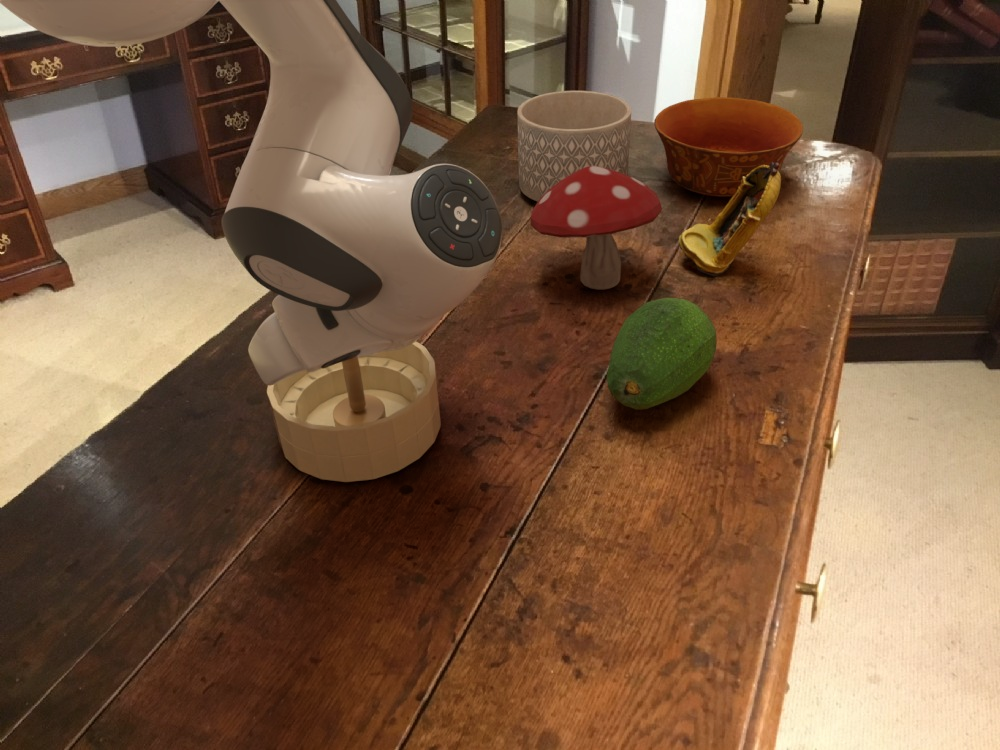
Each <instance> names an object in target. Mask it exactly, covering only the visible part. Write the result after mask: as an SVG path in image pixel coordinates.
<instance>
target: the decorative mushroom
mask: <svg viewBox="0 0 1000 750" xmlns="http://www.w3.org/2000/svg"><path fill="white" fill-rule="evenodd" d="M662 211H663V206H662V203H661V201H660V199H659V197H658V195H657V193H656V192H655V191H654V190H652V189H651V187H649V186H648V185H646V184H645V183H643V182H642V181H640V180H638V179H636V178H634V177H632V176H630V175H625V174H622V173H619V172H616V171H613V170H610V169H607V168H602V167H597V166H588V167H585V168H583V169H580V170H578V171H576V172H574V173H573V174H571V175H569V176H567V177H566V178H564V179H563V180H561V181H560V182H558V183H557V184H556V185H555V186H553V187H552V188H551V189H549V190H548V191H547V192H546V193H545V194H544V195H543V196H542V197H541V198H540V200H539V201H538V202H536V204H535V206H534V207H533V209H532V210H531V215H530V226H531V227H532V229H534V230H535V231H537V232H538V233H539V234H541V235H545V236H550V237H556V238H586V239H585V246H584V250H583V254H582V258H581V265H580V266H581V268H580V276H579V278H580V282H581V284H583V286H585V287H587V288H589V289H592V290H597V291H599V290H603V291H605V290H609V289H612V288H614V287H616V286H617V285H618V284H619V283H620V281H621V268H622V261H621V255H620V253H619V249H618V243H617V242H616V240H615V238H614V235H613V234H616V233H622V232H625V231H629V230H634V229H637V228H639V227H642V226H645V225H649V224H651V223H654V222H655V220H656V219H657V218H658V217H659V215H660V214H661V213H662Z"/></svg>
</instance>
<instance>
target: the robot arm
mask: <svg viewBox="0 0 1000 750" xmlns="http://www.w3.org/2000/svg"><path fill="white" fill-rule="evenodd" d="M218 2H219V3H220V4H221V5H222V6H223V7H224V8H225V10H226V11H227V12H228V13H229V15H231V16H232V18H233V19H234V20H235V21H236V22H237V23H238V24H239V26H240V27H241V28H242V29H243V30H244V31H245V32H246V33H247V35H248V36H249V37H250V38H251V40H253V42H254V43H255V44H256V45H257V46H258V47H259V49H261V51H262V52H263V53H264V54H265V55H266V57H267V59H268V61H269V67H270V80H269V88H268V95H267V100H266V104H265V108H264V110H263V112H262V115H261V118H260V121H259V123H258V125H257V128H256V130H255V132H254V133H255V134H254V136H253V139H252V141H251V144H250V146H249V149H248V152H247V154H246V156H245V159H244V161H243V163H242V165H241V169H240V171H239V173H238V176H237V178H236V180H235V183H234V185H233V188H232V191H231V193H230V196H229V199H228V203H227V205H226V208H225V211H224V213H223V215H222V217H221V222H220V223H221V227H222V231H223V235H224V237H225V239H226V242H227V244H228V246H229V248H230V249H231V251H232V253H233V254H234V256H235V257H236V259H237V260H238V261H239V262H240V264H241V265H242V267H243V268H244V269H245V270H246V271H247V273H248V274H249V275H250V276H251V277H252V278H253V279H254V280H255V281H256V282H257V283H258V284H260V285H261V286H262V287H264V288H265V289H267V290H269V291H271V292H272V293H274V294H277V295H276V296H275V297H274V298H273V300H272V302H271V306H272V309H273V311H274V312H272V313H271V314H270V315H269V316H267V317H266V318H265V319H264V320H263V322H262V323H260V325H259V327H258V328H257V330H256V331H255V332H254V334H253V336H252V338H251V340H250V342H249V345H248V348H247V351H248V355H249V359H250V360H251V363H252V365H253V367H254V369H255V370H256V372H257V375H258V376H259V378H260V380H261V381H262V382H263V384H264V385H266V386H268V385H274V384H277V383H279V382H281V381H283V380H285V379H287V378H290V377H292V376H294V375H296V374H299V373H301V372H303V371H305V370H306V371H307V372H314V371H317V370H319V369H322V368H323V369H324V368H327V367H329V366H332V365H334V364H337V363H340V362H343V361H346V360H350V359H352V358H354V357H359V356H364V355H371V354H376V353H380V352H383V351H396V350H400V349H403V348H405V347H407V346H409V345H411V344H413V343H414V342H415V341H416V342H418V340H419V339H420V338H422V337H423V336H424V335H425V334H426V333H427V332H428V331H430V330H431V329H432V328H433V327H434V326H435V325H437V324H438V323H439V322H440V321H441V319H443V317H444V316H445V315H446V314H448V313H450V312H451V311H453V310H454V309H456V308H457V307H458V306H459V305H460V304H462V303H463V302H464V301H465V300H466V299H467V298H468V297H469V296H470V295H472V293H473V292H474V291H475V290H476V289H477V288H478V287H479V285H480V284H481V283H482V282H483V281H484V279H485V278H486V277H487V276H488V274H489V272H490V271H491V269H492V268H493V266H494V264H495V263H496V261H497V258H498V256H499V253H500V251H501V250H500V249H501V246H502V238H503V237H502V236H503V227H502V219H501V215H500V211H499V208H498V205H497V202H496V201H495V198H494V196H493V194H492V192H491V191H490V189H489V188H488V187H487V186H486V184H485V183H484V182H483V181H482V180H481V179H480V177H478V176H477V175H476V174H474V173H473V172H471V171H470V170H468V169H467V168H464V167H463V166H459V165H456V164H452V163H436V164H433V165H430V166H426V167H424V168H422V169H419V170H417V171H413V172H410V173H405V174H395V175H390V174H391V171H392V169H393V165H394V162H395V159H396V157H397V155H398V153H399V151H400V149H401V147H402V144H403V142H404V139H405V136H406V134H407V132H408V129H409V128H410V125H411V123H412V120H413V115H414V114H413V112H414V108H413V107H414V106H413V101H412V98H411V94H410V92H409V89H408V88H407V85H406V84H405V82H404V80H403V79H402V76H401V74H399V72H398V70H396V69H395V67H394V66H393V65H392V64H391V62H390V61H389V60H388V59H387V58H386V57H385V56H384V55H383V54H382V53H381V52H380V51H378V50H377V48H375V47H374V46H373V45H372V44H371V43H370V42H369V41H368V40H367V39H365V37H364V36H363V35H362V34H361V32H360V31H359V30H358V29H357V28H356V26H355V25H354V23H353V22H352V21H351V19H350V18H349V17H348V15H347V14H346V13H345V11H344V10H343V8H342V7H341V5H340V4H339V2H338V1H337V0H0V5H2V6H3V7H4V8H5V9H7V10H8V11H9V12H10V13H12V14H13V15H14V16H16V17H18V18H19V19H20V20H22V21H23V22H25V23H26V24H27V25H29V26H31V27H32V28H33V29H35V30H37V31H39V32H41V33H43V34H45V35H47V36H51V37H53V38H56V39H59V40H62V41H66V42H70V43H73V44H77V45H83V46H90V47H99V48H100V47H101V48H103V47H104V48H106V47H107V48H114V47H115V48H119V47H126V46H132V45H139V44H143V43H147V42H152V41H155V40H158V39H162V38H165V37H167V36H169V35H172V34H174V33H177V32H179V31H181V30H183V29H185V28H187V27H189V26H191V25H192V24H194V23H195V22H197V21H198V20H200V19H201V18H202V17H204V16H205V15H206V14H207V13H208V12H210V10H212V9H213V7H214V6H215V5H216V4H217V3H218Z"/></svg>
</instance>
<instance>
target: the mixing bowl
mask: <svg viewBox="0 0 1000 750" xmlns="http://www.w3.org/2000/svg"><path fill="white" fill-rule="evenodd" d="M358 360H359V366H360V372H361V378H362V384H363V390H364V395H372V396H375V397H377V398H379V399H380V400H381V401H382V402H383V404H384V406H385V412H386V417H385V418H382V419H379V420H376V421H372V422H369V423H366V424H360V425H350V426H341V427H335V423H334V418H333V410H334V408H335V406H336V405H337V404H338V403H339V402H340V401H342V400H344V399H345V398H348V393H347V388H346V382H345V377H344V371H343V366H342V362H340V363H337V364H334V365H332V366H329V367H327V368H324V369H323V368H322V369H319V370H317V371H314V372H307V371H306V370H305V371H303V372H301V373H299V374H296V375H294V376H292V377H290V378H287V379H285V380H283V381H281V382H279V383H277V384H274V385H267V388H266V396H267V400H268V404H269V407H270V411H271V415H272V418H273V423H274V427H275V431H276V435H277V439H278V441H279V446H280V448H281V451H282V453H283V456H284V458H285V459H286V460H287V461H288V462H289V463H290V464H292V465H293V466H294V467H295V468H296V469H297V470H298V471H300V472H302V473H304V474H307V475H309V476H311V477H314V478H317V479H320V480H324V481H325V480H326V481H332V482H333V481H334V482H341V483H351V482H360V481H369V480H376V479H378V478H382V477H385V476H388V475H392V474H394V473H397V472H399V471H401V470H403V469H405V468H406V467H408V466H409V465H411V464H413V463H414V462H416V461H418V460H420V458H421V457H422V456H423V455H424V454H425V453H427V451H428V450H429V449H430V448H431V447H432V445H433V444H435V442H436V439H437V437H438V434H439V432H440V429H441V427H442V422H441V411H440V401H439V393H438V381H437V372H436V371H437V370H436V362H435V361H436V360H435V359H434V358H433V355H431V353H430V352H429V351H428V349H427V348H426V346H424V345H422V343H419V342H418V341H415V342H414V343H413V344H411V345H409V346H407V347H405V348H403V349H400V350H396V351H383V352H380V353H376V354H371V355H364V356H359V357H358Z"/></svg>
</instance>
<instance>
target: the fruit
mask: <svg viewBox="0 0 1000 750" xmlns="http://www.w3.org/2000/svg"><path fill="white" fill-rule="evenodd" d="M716 350H717V329H716V327H715V326H714V323H713V321H712V320H711V318H710V317H709V316H708V314H707V313H706V312H705V311H704V310H703V309H702V308H701V307H700V306H699V305H697V304H696V303H694V302H692V301H689V300H687V298H677V297H663V298H657V299H653V300H650V301H647V302H645V303H644V304H642V305H641V306H640V307H638V308H637V309H636V310H635V311H633V312H632V313H631V314H630V315H629V316H627V317H626V319H625V320H624V322H623V324H622V326H621V328H620V329H619V331H618V333H617V335H616V337H615V340H614V342H613V346H612V349H611V354H610V358H609V362H608V367H607V373H606V384H607V387H608V390H609V392H610V394H611V396H613V397H614V399H616V401H618V402H619V403H620V404H622V405H623V406H624V407H628V408H631V409H634V410H648V409H650V408H653V407H655V406H658V405H661V404H663V403H666V402H668V401H671V400H673V399H676V398H678V397H679V396H681V395H682V394H685V393H686V392H688V391H689V390H690V389H691V388H692V387H693V386H694V385H695V384H696V383H697V382H698V381H699V380H700V379H701V378H702V377H703V376H704V375H705V374H706V373H707V372H708V371H709V369H710V367H711V364H712V362H713V359H714V357H715V353H716Z"/></svg>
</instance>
